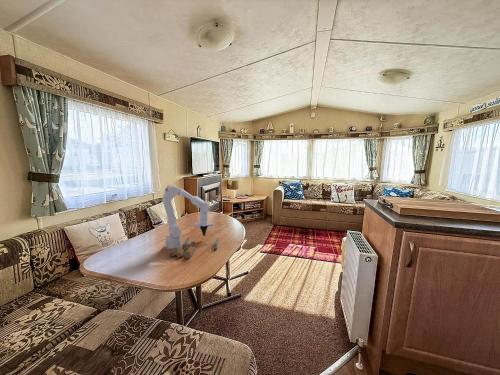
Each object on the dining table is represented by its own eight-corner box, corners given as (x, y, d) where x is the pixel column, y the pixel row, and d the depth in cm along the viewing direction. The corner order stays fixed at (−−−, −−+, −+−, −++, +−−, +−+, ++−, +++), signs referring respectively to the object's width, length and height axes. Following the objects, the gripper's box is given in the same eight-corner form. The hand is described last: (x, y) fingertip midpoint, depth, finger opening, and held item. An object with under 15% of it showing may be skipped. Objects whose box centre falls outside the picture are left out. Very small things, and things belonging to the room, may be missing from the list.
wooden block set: (166, 251, 123) (172, 244, 133) (171, 264, 124) (177, 256, 134) (194, 242, 122) (198, 236, 132) (199, 255, 123) (203, 247, 133)
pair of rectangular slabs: (183, 250, 135) (182, 244, 134) (187, 243, 146) (187, 237, 146) (216, 250, 136) (216, 244, 135) (218, 243, 148) (218, 237, 147)
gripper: (192, 219, 145) (193, 237, 147) (213, 219, 146) (213, 237, 148) (194, 216, 152) (195, 233, 154) (214, 216, 153) (214, 233, 155)
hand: (204, 235), depth 151 cm, fingers closed
